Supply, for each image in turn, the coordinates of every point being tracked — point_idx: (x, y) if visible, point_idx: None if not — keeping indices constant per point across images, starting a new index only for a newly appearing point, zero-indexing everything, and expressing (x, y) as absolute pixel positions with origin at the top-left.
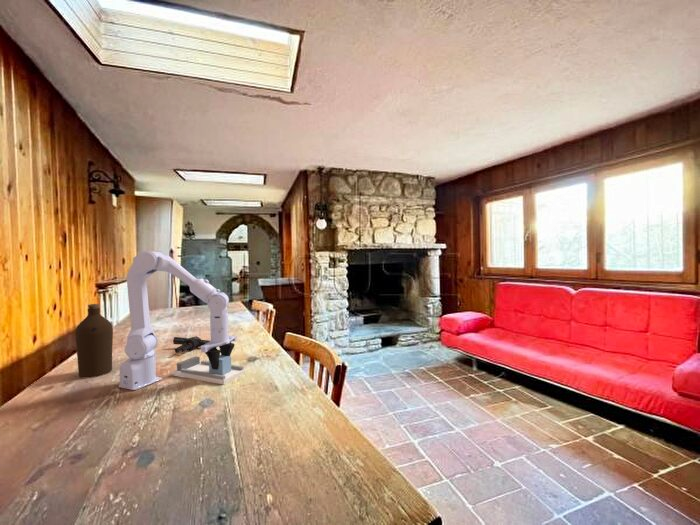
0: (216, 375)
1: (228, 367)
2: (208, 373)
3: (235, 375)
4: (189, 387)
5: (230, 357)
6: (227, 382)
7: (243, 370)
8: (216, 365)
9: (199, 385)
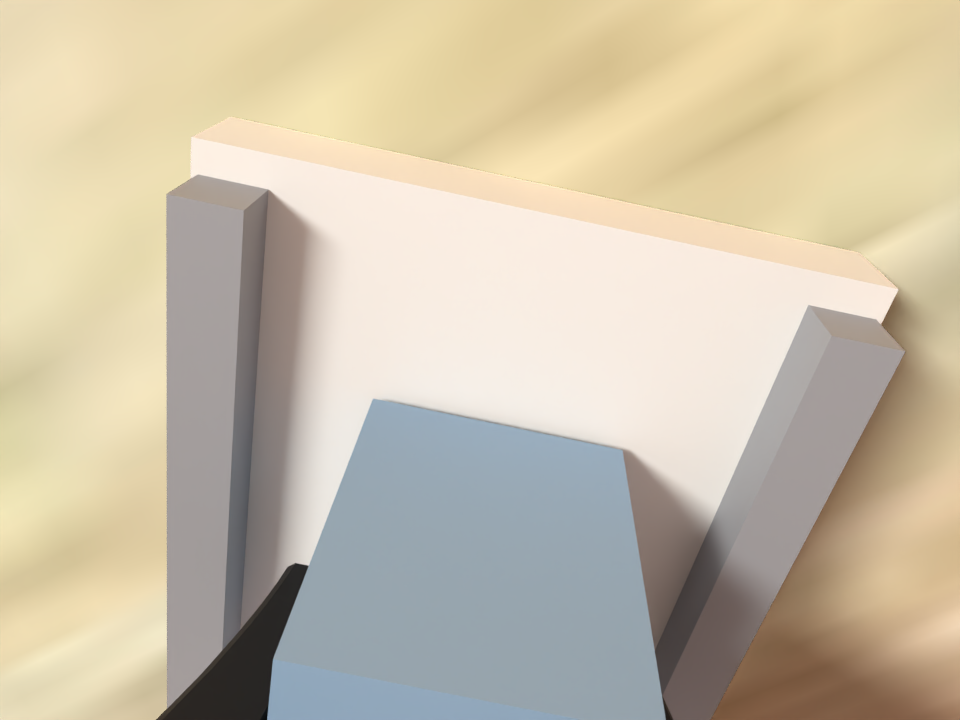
0: (810, 517)
1: (443, 475)
2: (698, 683)
3: (532, 203)
4: (921, 692)
5: (305, 643)
6: (771, 235)
7: (249, 147)
8: (670, 716)
9: (855, 613)
